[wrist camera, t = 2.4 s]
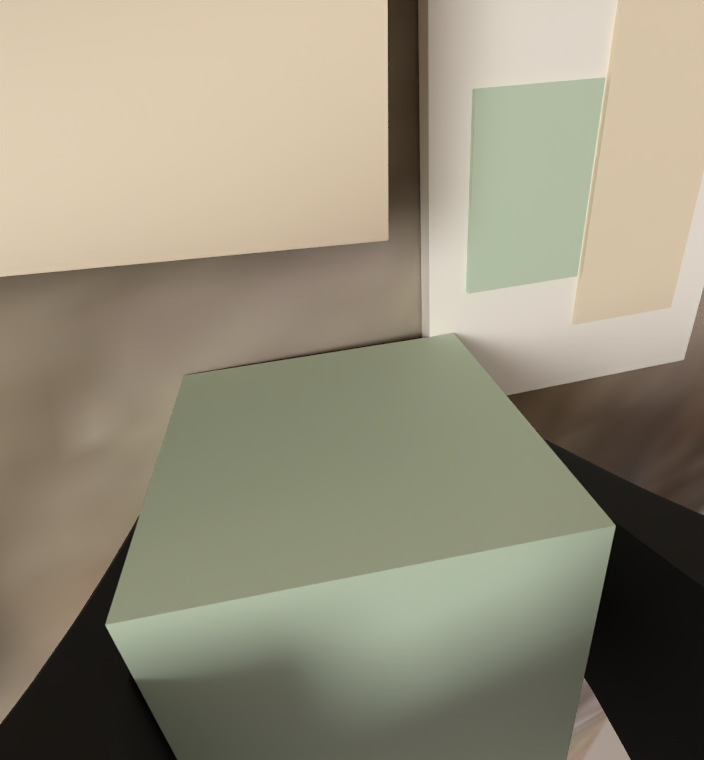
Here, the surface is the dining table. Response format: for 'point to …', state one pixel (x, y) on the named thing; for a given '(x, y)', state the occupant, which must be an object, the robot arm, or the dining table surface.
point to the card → (562, 183)
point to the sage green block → (360, 566)
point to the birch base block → (189, 129)
